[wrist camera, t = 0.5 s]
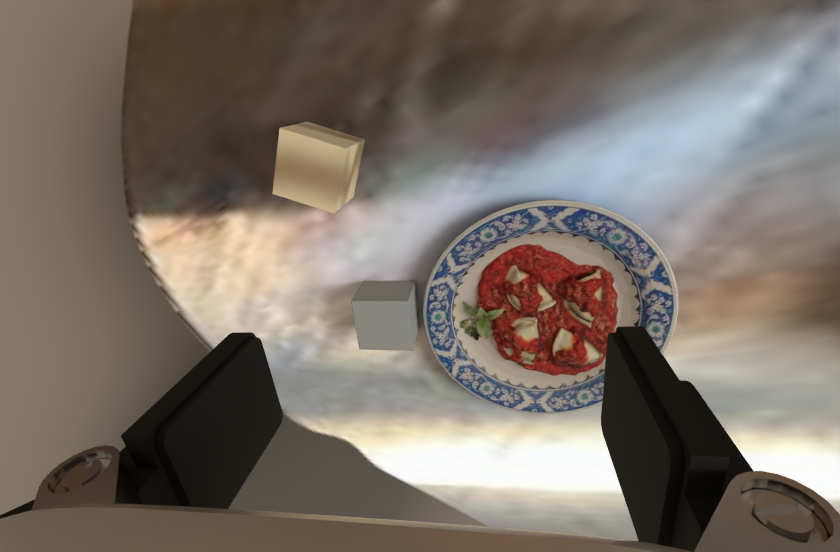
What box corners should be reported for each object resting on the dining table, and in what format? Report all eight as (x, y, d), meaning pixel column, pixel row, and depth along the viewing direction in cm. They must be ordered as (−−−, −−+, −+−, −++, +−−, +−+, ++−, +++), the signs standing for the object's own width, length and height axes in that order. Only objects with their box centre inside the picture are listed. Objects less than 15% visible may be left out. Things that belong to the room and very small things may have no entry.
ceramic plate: (711, 214, 39) (727, 224, 36) (625, 419, 50) (632, 438, 48) (439, 178, 42) (436, 184, 39) (415, 380, 53) (411, 396, 50)
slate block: (364, 280, 48) (351, 301, 43) (415, 280, 47) (407, 301, 42) (371, 325, 50) (359, 349, 46) (420, 326, 49) (413, 350, 45)
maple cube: (307, 121, 41) (279, 127, 36) (365, 139, 41) (345, 148, 36) (299, 179, 44) (272, 193, 38) (353, 196, 44) (333, 213, 38)
